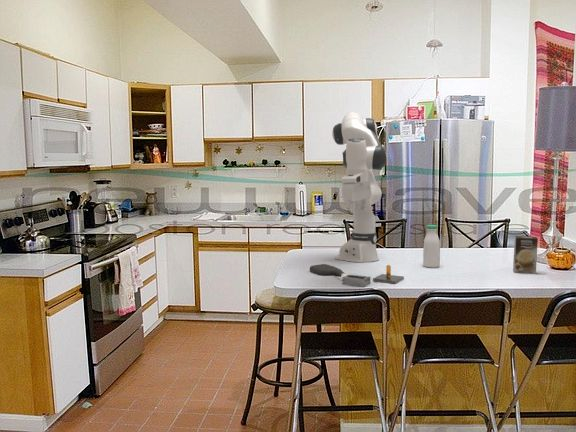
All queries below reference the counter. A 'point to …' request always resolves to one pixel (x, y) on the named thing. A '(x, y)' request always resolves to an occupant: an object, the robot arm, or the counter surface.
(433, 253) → the milk bottle
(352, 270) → the counter surface
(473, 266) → the counter surface
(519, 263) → the coffee box
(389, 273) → the keeper
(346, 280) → the grey open tray
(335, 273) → the drumstick
